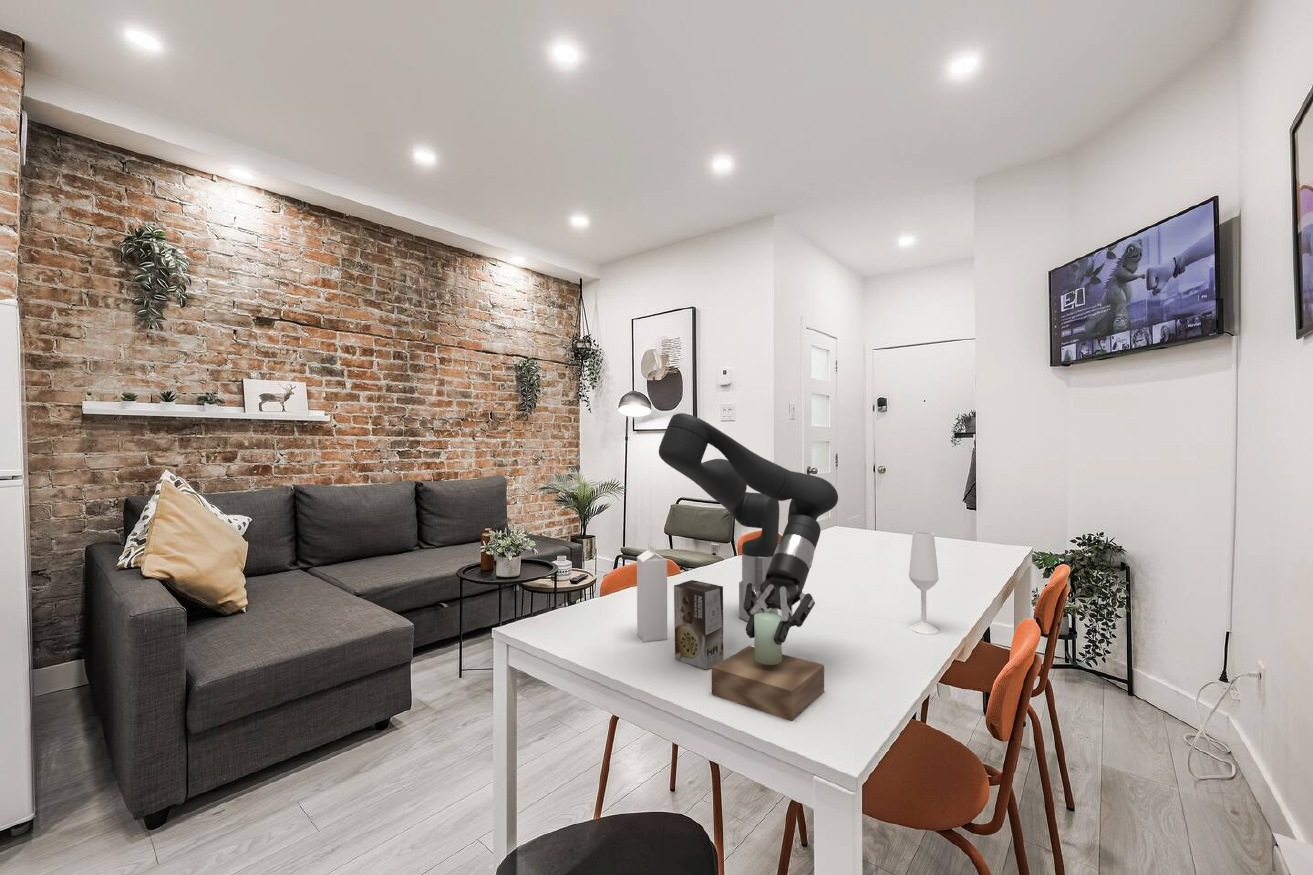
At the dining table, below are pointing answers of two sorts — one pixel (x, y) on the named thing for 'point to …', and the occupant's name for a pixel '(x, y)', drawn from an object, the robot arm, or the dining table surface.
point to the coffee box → (698, 623)
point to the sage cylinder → (766, 638)
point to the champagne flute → (923, 573)
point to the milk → (651, 596)
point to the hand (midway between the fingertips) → (763, 638)
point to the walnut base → (768, 683)
